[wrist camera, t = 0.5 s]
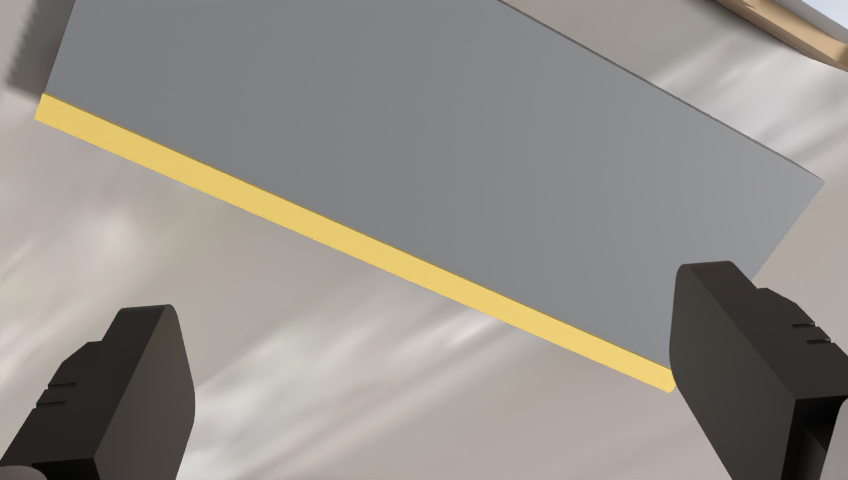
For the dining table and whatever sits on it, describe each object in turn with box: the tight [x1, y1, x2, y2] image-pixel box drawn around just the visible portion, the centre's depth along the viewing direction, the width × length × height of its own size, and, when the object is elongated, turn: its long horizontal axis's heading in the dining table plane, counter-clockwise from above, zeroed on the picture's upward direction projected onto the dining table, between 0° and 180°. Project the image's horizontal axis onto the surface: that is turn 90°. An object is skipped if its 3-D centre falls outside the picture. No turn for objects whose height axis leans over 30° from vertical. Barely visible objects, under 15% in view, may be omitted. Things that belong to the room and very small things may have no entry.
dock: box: [34, 0, 825, 393], centre depth 36 cm, size 13×33×3 cm, turn 62°
